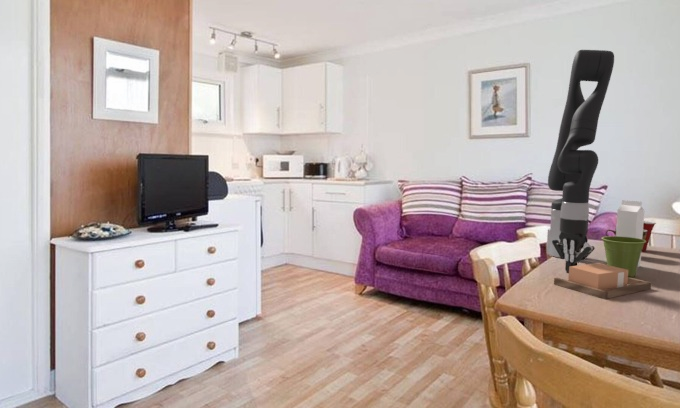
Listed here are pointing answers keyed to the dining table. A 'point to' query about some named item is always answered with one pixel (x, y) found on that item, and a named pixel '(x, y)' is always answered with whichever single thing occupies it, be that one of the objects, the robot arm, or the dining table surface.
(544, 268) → the dining table surface
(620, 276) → the carton
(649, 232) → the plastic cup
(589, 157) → the robot arm
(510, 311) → the dining table surface
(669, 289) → the dining table surface
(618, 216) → the milk
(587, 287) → the tray
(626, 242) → the plant pot
